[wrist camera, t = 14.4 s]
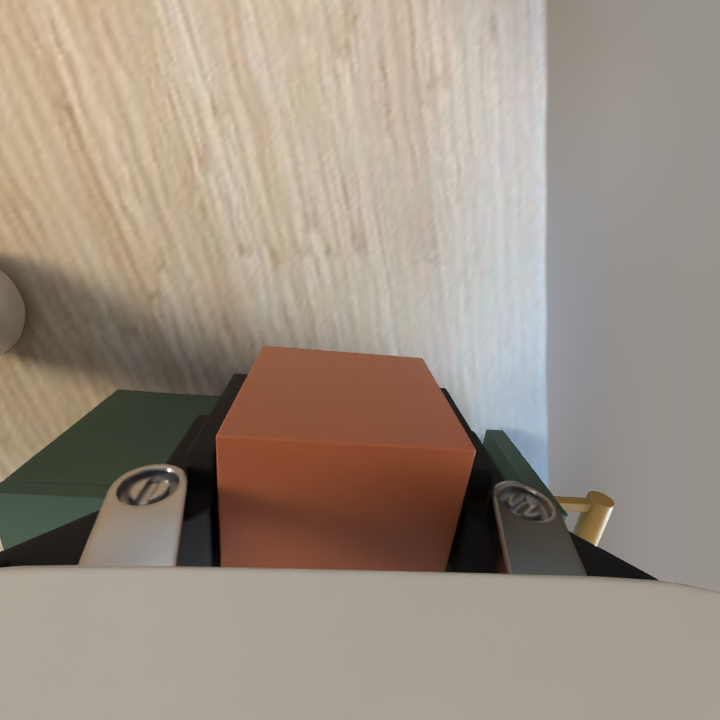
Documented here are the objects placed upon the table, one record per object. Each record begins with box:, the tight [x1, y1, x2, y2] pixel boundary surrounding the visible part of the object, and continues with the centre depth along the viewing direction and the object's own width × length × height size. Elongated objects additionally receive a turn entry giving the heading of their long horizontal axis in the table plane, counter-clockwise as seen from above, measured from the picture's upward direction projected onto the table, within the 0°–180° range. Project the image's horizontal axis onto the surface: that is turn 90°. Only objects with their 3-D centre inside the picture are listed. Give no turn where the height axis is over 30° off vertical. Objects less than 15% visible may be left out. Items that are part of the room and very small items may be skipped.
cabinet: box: [0, 390, 220, 550], centre depth 22 cm, size 15×12×10 cm
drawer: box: [483, 430, 614, 546], centre depth 23 cm, size 19×10×8 cm, turn 84°
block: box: [216, 346, 476, 572], centre depth 10 cm, size 5×5×5 cm
